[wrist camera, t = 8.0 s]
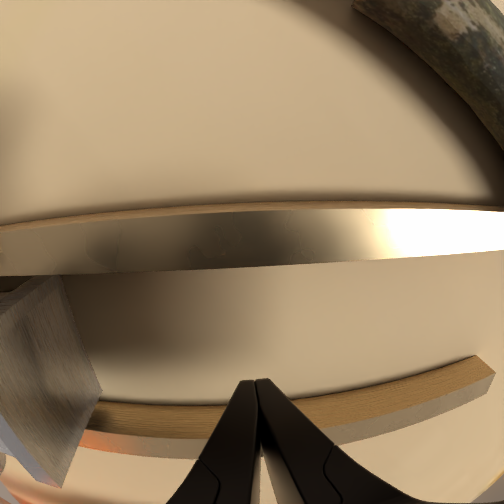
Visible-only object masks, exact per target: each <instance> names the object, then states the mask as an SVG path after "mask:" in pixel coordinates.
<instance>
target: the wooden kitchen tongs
mask: <svg viewBox="0 0 504 504" xmlns="http://www.w3.org/2000/svg"><path fill="white" fill-rule="evenodd" d="M502 249H504V207H498V206H485V205H469V204H451V203H429V202H397V201H288V202H254V203H230V204H210V205H193V206H177V207H163V208H150V209H138V210H126V211H115V212H105V213H95V214H86V215H77V216H68V217H60V218H52V219H44V220H36V221H29V222H22V223H15V224H8V225H2V226H0V276H26V275H66V274H98V273H127V272H152V271H176V270H198V269H219V268H239V267H258V266H277V265H294V264H311V263H328V262H343V261H359V260H374V259H388V258H402V257H416V256H429V255H442V254H455V253H467V252H479V251H491V250H502ZM495 374H496V372H495V371H493V370H492V369H491V368H490V367H489V366H488V365H487V364H486V363H485V362H483V361H482V360H481V359H480V358H479V357H478V356H477V355H476V356H473V357H470V358H468V359H465V360H462V361H459V362H456V363H454V364H451V365H448V366H445V367H442V368H438V369H435V370H432V371H429V372H425V373H422V374H419V375H415V376H412V377H408V378H404V379H400V380H397V381H393V382H389V383H384V384H380V385H376V386H371V387H367V388H362V389H357V390H352V391H347V392H341V393H336V394H330V395H324V396H317V397H311V398H303V399H296V400H290V401H291V402H292V403H293V404H294V405H295V406H296V407H297V408H298V409H299V410H300V411H301V412H302V413H304V414H305V415H306V416H307V417H308V418H309V419H310V420H311V421H312V422H313V423H314V424H315V425H316V426H317V427H318V428H319V429H320V430H321V431H322V432H323V433H324V434H325V435H326V436H327V437H328V438H329V439H331V440H332V441H333V442H334V443H335V445H342V444H346V443H351V442H355V441H359V440H363V439H367V438H371V437H374V436H378V435H381V434H385V433H388V432H392V431H395V430H398V429H401V428H404V427H407V426H410V425H413V424H416V423H419V422H422V421H424V420H427V419H430V418H432V417H435V416H437V415H440V414H442V413H445V412H447V411H450V410H452V409H454V408H457V407H459V406H461V405H463V404H466V403H468V402H470V401H472V400H474V399H476V398H478V397H480V396H482V395H484V394H486V393H487V391H488V389H489V387H490V385H491V383H492V381H493V378H494V376H495ZM226 406H227V405H221V406H163V405H142V404H128V403H117V402H107V401H97V404H96V406H95V408H94V410H93V412H92V415H91V417H90V419H89V421H88V424H87V426H86V428H85V431H84V433H83V435H82V438H81V440H80V442H79V445H78V446H81V447H85V448H91V449H96V450H102V451H108V452H114V453H121V454H129V455H137V456H147V457H160V458H177V459H198V457H199V455H200V454H201V452H202V450H203V448H204V446H205V445H206V443H207V441H208V439H209V438H210V436H211V434H212V432H213V430H214V429H215V427H216V425H217V423H218V421H219V419H220V418H221V416H222V414H223V412H224V410H225V408H226ZM263 456H264V455H263V451H262V447H261V457H263ZM5 464H6V455H5V453H2V452H0V475H1V473H2V472H3V470H4V467H5Z"/></svg>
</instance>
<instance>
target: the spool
mask: <svg viewBox="0 0 504 504" xmlns="http://www.w3.org/2000/svg"><path fill="white" fill-rule="evenodd" d="M102 391H103V390H102V388H101V386H100V383H99V381H98V379H97V377H96V374H95V372H94V370H93V367H92V365H91V363H90V360H89V358H88V355H87V353H86V350H85V348H84V345H83V342H82V340H81V337H80V334H79V331H78V329H77V326H76V323H75V320H74V317H73V314H72V311H71V308H70V305H69V301H68V298H67V295H66V291H65V288H64V284H63V281H62V277H61V275H35V276H34V277H32V278H31V279H29V280H28V281H26V282H25V283H23V284H22V285H21V286H19V287H18V288H16V289H15V290H13V291H12V292H1V293H0V452H2V453H5V454H8V455H10V456H13V457H15V458H16V459H17V460H18V461H19V462H20V463H21V464H22V466H23V467H24V468H25V469H26V470H27V471H28V472H29V473H30V474H31V476H32V477H33V478H34V479H35V480H36V481H39V482H42V483H45V484H48V485H51V486H54V487H58V488H62V485H63V482H64V480H65V477H66V475H67V472H68V469H69V467H70V464H71V462H72V459H73V457H74V454H75V452H76V449H77V447H78V445H79V442H80V440H81V438H82V435H83V433H84V431H85V428H86V426H87V424H88V421H89V419H90V417H91V415H92V412H93V410H94V408H95V406H96V404H97V401H98V399H99V397H100V395H101V393H102Z"/></svg>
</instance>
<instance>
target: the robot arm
mask: <svg viewBox="0 0 504 504" xmlns="http://www.w3.org/2000/svg"><path fill="white" fill-rule="evenodd" d="M261 447H262V451H263V455H264V459H265V462H266V466H267V469H268V473H269V476H270V480H271V483H272V486H273V490H274V493H275V497H276V500H277V503H278V504H504V500H503V501H499V502H491V503H436V502H427V501H422V500H419V499H416V498H413V497H411V496H409V495H407V494H405V493H403V492H402V491H400V490H398V489H397V488H395V487H393V486H392V485H390V484H388V483H387V482H385V481H383V480H382V479H380V478H379V477H377V476H375V475H374V474H372V473H371V472H369V471H368V470H367V469H365V468H364V467H362V466H361V465H359V464H358V463H357V462H355V461H354V460H353V459H352V458H351V457H349V456H348V455H347V454H346V453H345V452H344V451H343V450H341V449H340V448H339V447H338V446H337V445H335V443H334V442H333V441H332V440H331V439H329V438H328V437H327V436H326V435H325V434H324V433H323V432H322V431H321V430H320V429H319V428H318V427H317V426H316V425H315V424H314V423H313V422H312V421H311V420H310V419H309V418H308V417H307V416H306V415H305V414H304V413H302V412H301V411H300V410H299V409H298V408H297V407H296V406H295V405H294V404H293V403H292V402H291V401H290V399H289V398H288V397H287V396H286V395H285V394H284V393H283V392H282V391H281V390H280V389H279V388H278V387H277V386H276V385H275V384H274V383H273V382H272V381H271V380H270V379H268V378H265V379H256V380H255V381H254V380H242V381H240V382H239V384H238V386H237V388H236V390H235V391H234V393H233V395H232V397H231V399H230V401H229V403H228V405H227V406H226V408H225V410H224V412H223V414H222V416H221V418H220V419H219V421H218V423H217V425H216V427H215V429H214V430H213V432H212V434H211V436H210V438H209V439H208V441H207V443H206V445H205V446H204V448H203V450H202V452H201V454H200V455H199V457H198V460H196V462H195V464H194V465H193V467H192V469H191V471H190V472H189V474H188V475H187V477H186V478H185V480H184V481H183V483H182V484H181V485H180V487H179V488H178V489H177V491H176V492H175V493H174V494H173V496H172V497H171V498H170V499H169V500H168V502H167V503H166V504H259V502H260V471H261Z"/></svg>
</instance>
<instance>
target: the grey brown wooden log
mask: <svg viewBox="0 0 504 504" xmlns="http://www.w3.org/2000/svg"><path fill="white" fill-rule="evenodd" d="M352 7H353V8H355V9H357V10H358V11H360V12H361V13H363V14H364V15H366V16H367V17H369V18H370V19H372V20H373V21H375V22H376V23H378V24H379V25H381V26H382V27H384V28H385V29H386V30H388V31H389V32H390V33H392V34H393V35H394V36H395V37H397V38H398V39H399V40H400V41H402V42H403V43H404V44H405V45H406V46H408V47H409V48H410V49H411V50H412V51H414V52H415V53H416V54H417V55H418V56H419V57H420V58H421V59H423V60H424V61H425V62H426V63H427V64H428V65H429V66H430V67H431V68H432V69H433V70H434V71H435V72H436V73H437V74H438V75H439V76H441V77H442V78H443V79H444V80H445V82H446V83H447V84H448V85H449V86H451V87H452V88H453V89H454V90H455V91H456V92H457V93H458V94H459V95H460V96H461V97H462V98H463V99H464V100H465V101H466V103H467V104H468V105H469V106H470V107H471V108H472V110H473V111H474V112H475V114H476V115H477V116H478V118H479V119H480V120H481V121H482V123H483V124H484V125H485V126H486V128H487V129H488V130H489V132H490V133H491V134H492V135H493V137H494V138H495V140H496V141H497V142H498V144H499V145H500V147H501V148H502V150H503V151H504V15H503V14H502V13H501V12H500V10H499V9H498V8H497V7H496V6H495V5H494V4H493V3H492V2H491V1H490V0H354V2H353V4H352Z"/></svg>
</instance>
